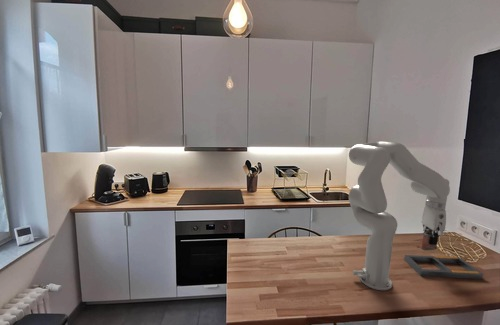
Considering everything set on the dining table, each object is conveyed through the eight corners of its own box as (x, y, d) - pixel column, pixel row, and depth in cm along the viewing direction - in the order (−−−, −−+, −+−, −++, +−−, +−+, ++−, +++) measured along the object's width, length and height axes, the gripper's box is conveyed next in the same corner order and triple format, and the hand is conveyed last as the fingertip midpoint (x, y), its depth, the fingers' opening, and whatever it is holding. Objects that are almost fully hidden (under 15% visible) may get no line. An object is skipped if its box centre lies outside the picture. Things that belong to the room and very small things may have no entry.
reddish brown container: (425, 251, 118) (428, 230, 116) (418, 247, 121) (421, 227, 120) (438, 249, 120) (441, 229, 119) (431, 246, 123) (434, 226, 122)
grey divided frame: (420, 276, 116) (421, 270, 116) (404, 259, 130) (404, 254, 129) (482, 279, 114) (483, 273, 114) (459, 262, 128) (459, 257, 128)
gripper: (457, 211, 109) (450, 251, 112) (432, 199, 125) (426, 235, 128) (439, 210, 109) (432, 250, 112) (416, 198, 126) (411, 234, 129)
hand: (429, 241), depth 120 cm, fingers closed on reddish brown container, 4 cm apart
